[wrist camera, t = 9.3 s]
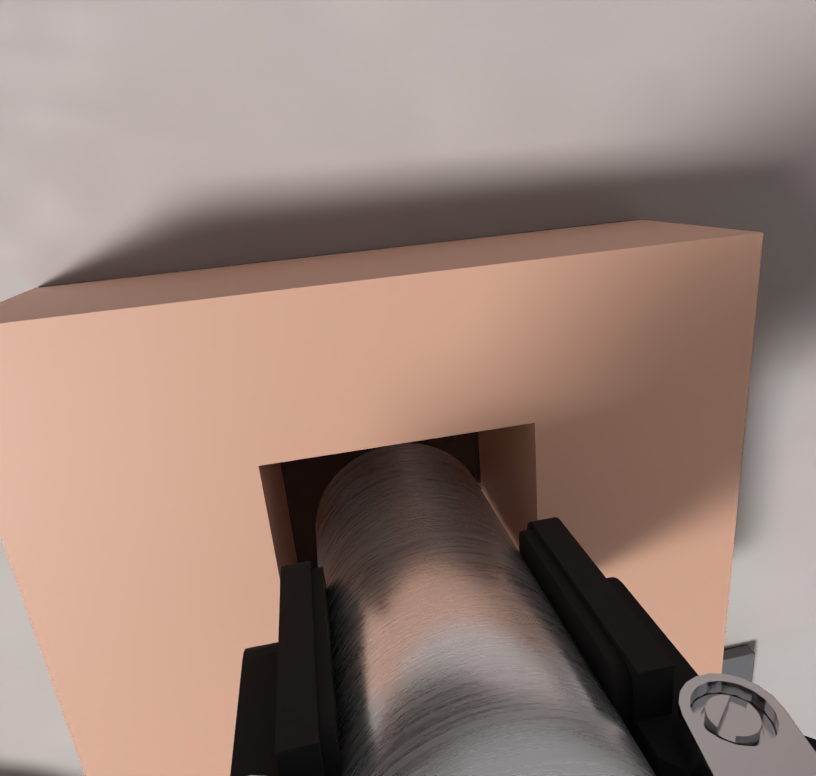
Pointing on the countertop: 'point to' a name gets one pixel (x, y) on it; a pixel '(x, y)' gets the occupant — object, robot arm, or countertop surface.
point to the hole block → (356, 443)
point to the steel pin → (450, 635)
